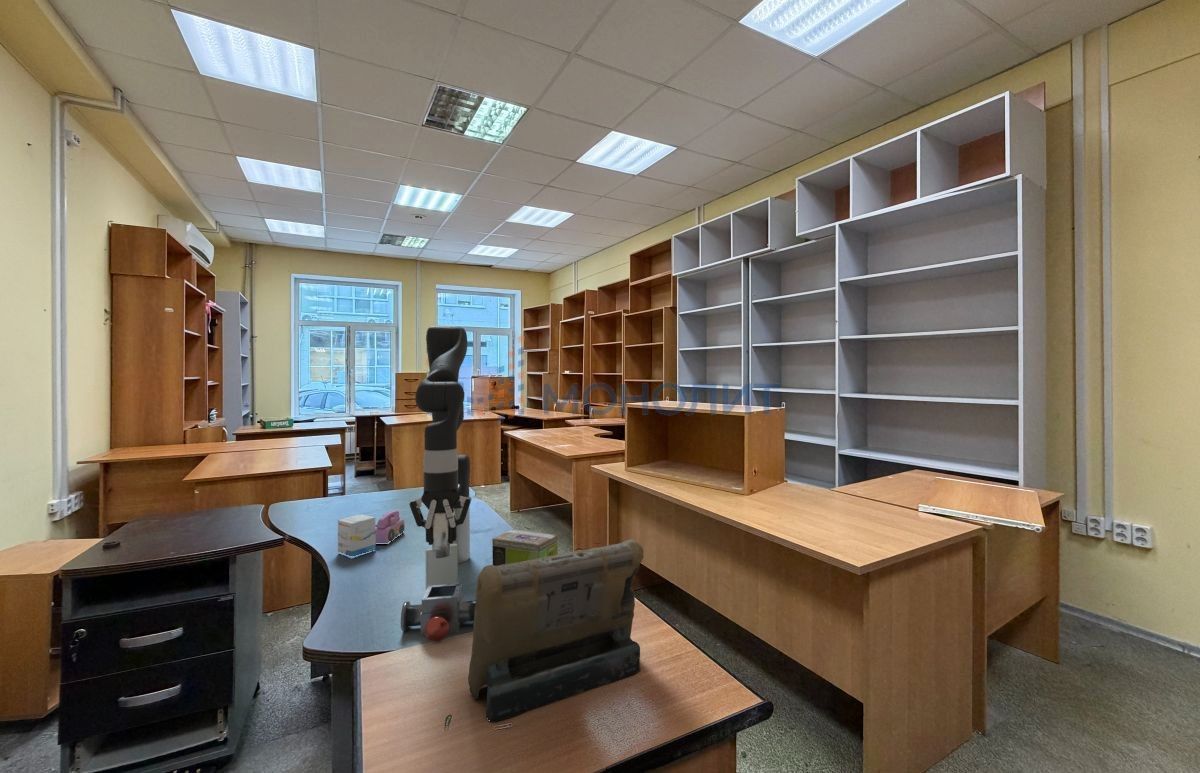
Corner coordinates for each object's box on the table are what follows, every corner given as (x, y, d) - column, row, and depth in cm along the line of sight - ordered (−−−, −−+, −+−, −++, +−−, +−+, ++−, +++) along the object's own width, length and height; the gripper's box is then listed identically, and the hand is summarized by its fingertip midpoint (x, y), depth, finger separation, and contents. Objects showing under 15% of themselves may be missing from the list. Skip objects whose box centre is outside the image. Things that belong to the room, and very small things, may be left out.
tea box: (559, 588, 129) (558, 533, 129) (539, 603, 120) (539, 545, 120) (513, 579, 135) (513, 527, 135) (491, 593, 126) (491, 537, 126)
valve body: (408, 620, 111) (408, 586, 111) (481, 614, 114) (481, 581, 114) (395, 647, 100) (395, 609, 100) (477, 640, 102) (476, 603, 102)
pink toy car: (388, 547, 163) (387, 518, 163) (369, 546, 163) (369, 517, 163) (410, 531, 181) (410, 505, 181) (394, 531, 181) (394, 505, 181)
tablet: (611, 637, 103) (610, 523, 103) (652, 669, 92) (651, 540, 92) (463, 691, 85) (462, 553, 85) (490, 739, 74) (489, 579, 74)
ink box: (376, 551, 158) (376, 517, 158) (351, 559, 151) (351, 523, 151) (361, 547, 163) (361, 513, 163) (337, 554, 156) (336, 519, 156)
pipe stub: (434, 552, 110) (433, 509, 110) (451, 551, 111) (451, 508, 111) (430, 558, 106) (430, 514, 106) (449, 557, 107) (448, 513, 107)
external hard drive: (458, 590, 127) (458, 544, 127) (426, 598, 123) (426, 550, 123) (456, 588, 129) (456, 543, 129) (425, 596, 124) (424, 548, 124)
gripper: (474, 464, 113) (474, 536, 113) (412, 466, 111) (412, 539, 111) (471, 470, 106) (471, 546, 106) (404, 472, 104) (404, 550, 104)
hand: (441, 542), depth 109 cm, fingers closed on pipe stub, 4 cm apart
